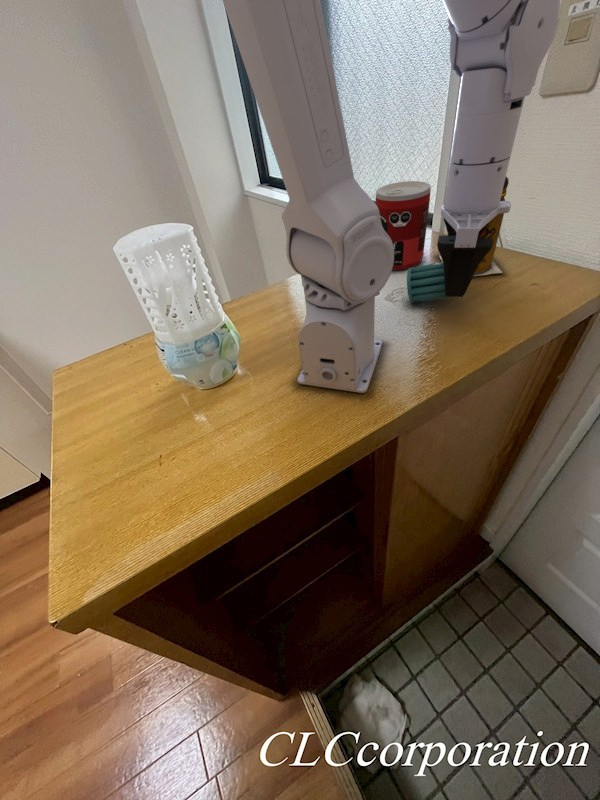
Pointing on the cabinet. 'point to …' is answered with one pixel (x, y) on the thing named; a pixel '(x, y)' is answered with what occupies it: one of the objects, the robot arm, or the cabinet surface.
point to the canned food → (405, 219)
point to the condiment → (493, 231)
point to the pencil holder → (426, 282)
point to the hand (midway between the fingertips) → (456, 282)
